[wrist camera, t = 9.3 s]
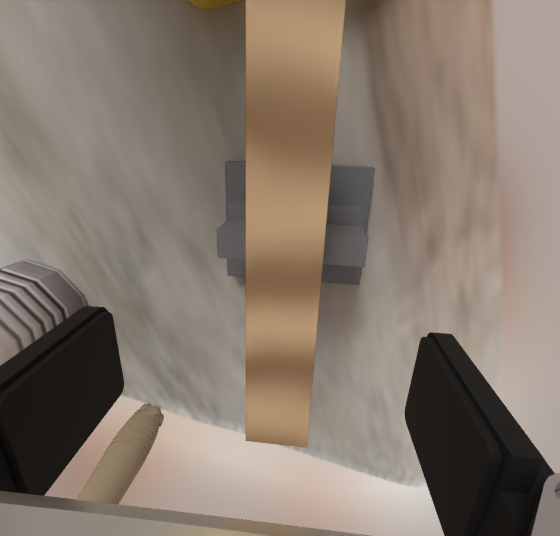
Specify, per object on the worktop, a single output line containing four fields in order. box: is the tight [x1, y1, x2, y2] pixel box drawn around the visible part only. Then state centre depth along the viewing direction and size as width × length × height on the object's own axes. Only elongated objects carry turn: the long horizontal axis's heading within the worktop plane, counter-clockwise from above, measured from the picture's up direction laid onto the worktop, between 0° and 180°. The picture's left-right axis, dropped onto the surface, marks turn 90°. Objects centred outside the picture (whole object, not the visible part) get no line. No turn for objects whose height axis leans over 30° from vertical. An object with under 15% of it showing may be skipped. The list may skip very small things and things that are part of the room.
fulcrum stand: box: [217, 161, 375, 285], centre depth 26 cm, size 10×12×8 cm
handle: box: [76, 404, 164, 504], centre depth 32 cm, size 5×6×15 cm
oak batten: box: [246, 0, 346, 447], centre depth 19 cm, size 24×4×5 cm, turn 177°
